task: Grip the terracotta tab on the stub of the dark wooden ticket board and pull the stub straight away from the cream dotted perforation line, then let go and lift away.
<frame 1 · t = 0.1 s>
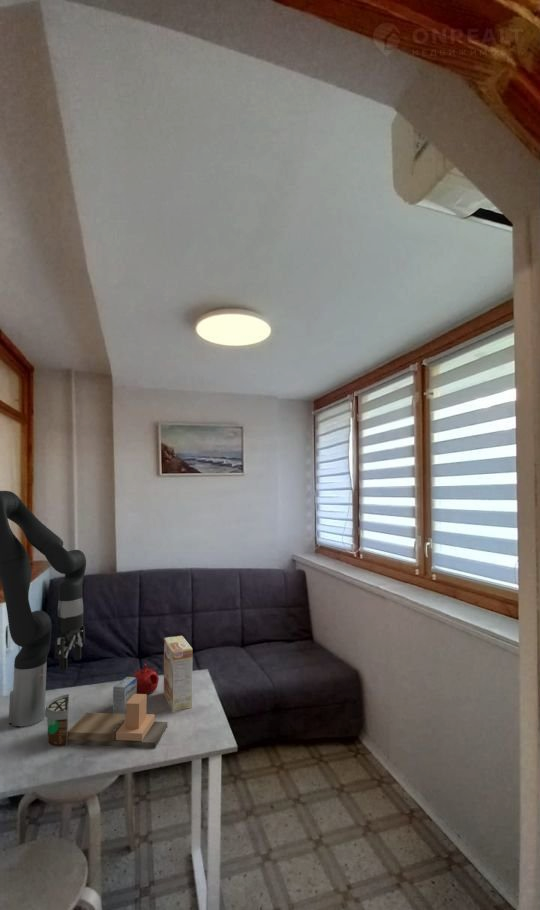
hand: (70, 664, 137), 17 cm above the table, tool pointing down, fingers open, 8 cm apart
medicine box: (124, 709, 144), on the table
food container: (55, 740, 126), on the table
coffeecake box: (177, 701, 149), on the table
ticket board: (119, 735, 127), on the table
stub: (136, 714, 128), point 6 cm above the table, slide at 0.0 cm
pomegranate: (144, 691, 156), on the table
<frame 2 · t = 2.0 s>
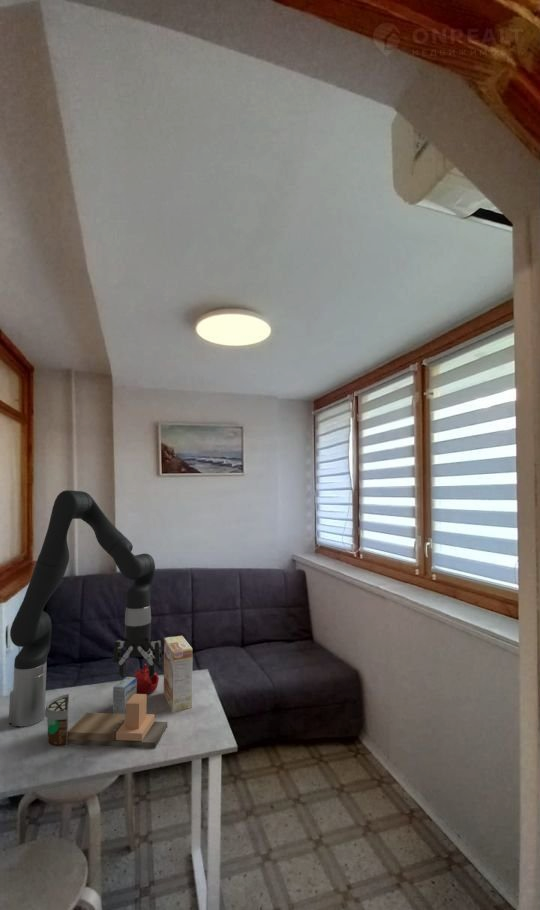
hand: (137, 676, 129), 17 cm above the table, tool pointing down, fingers open, 8 cm apart
nothing on the table moved.
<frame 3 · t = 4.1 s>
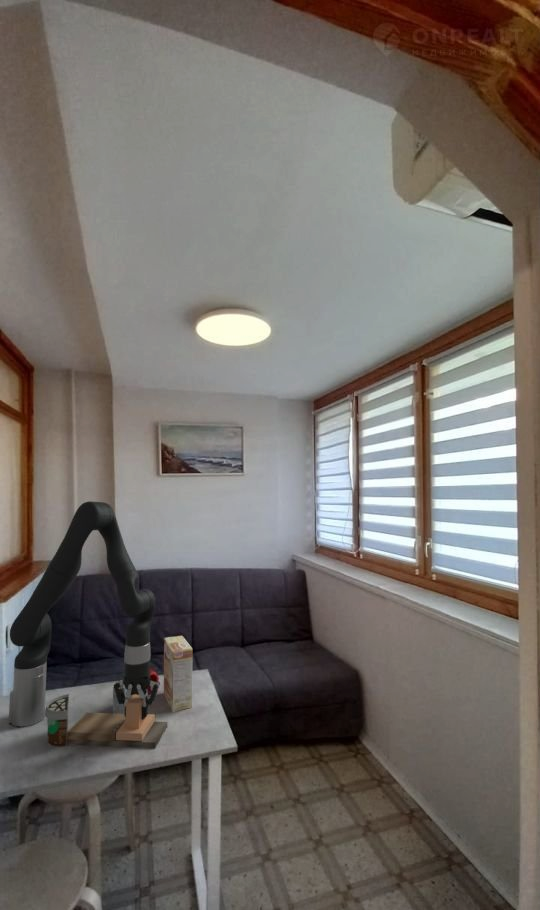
hand: (136, 717, 128), 5 cm above the table, tool pointing down, fingers closed on stub, 4 cm apart
stub: (136, 714, 128), point 6 cm above the table, slide at 0.0 cm, touching gripper
everything else where it was.
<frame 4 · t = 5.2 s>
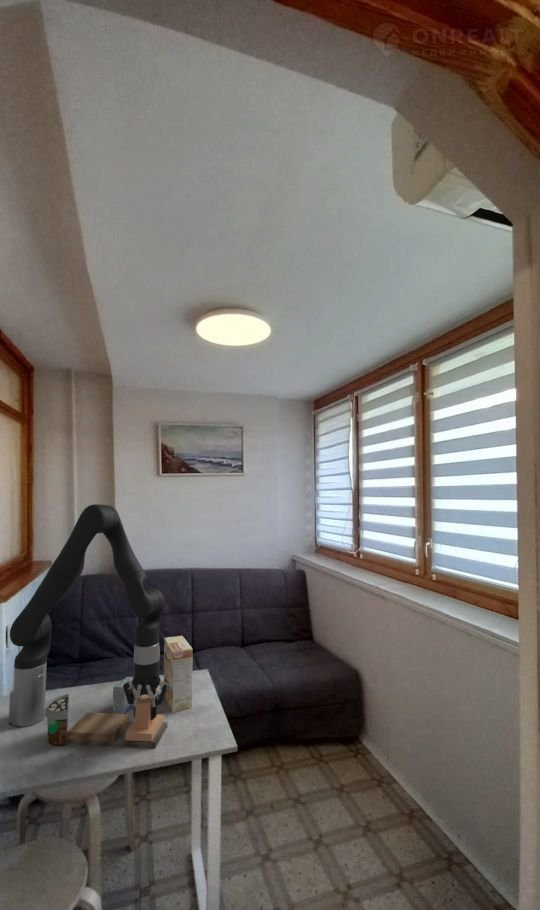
hand: (145, 718, 127), 5 cm above the table, tool pointing down, fingers closed on stub, 4 cm apart
stub: (145, 714, 127), point 6 cm above the table, slide at 2.9 cm, touching gripper
everything else where it was.
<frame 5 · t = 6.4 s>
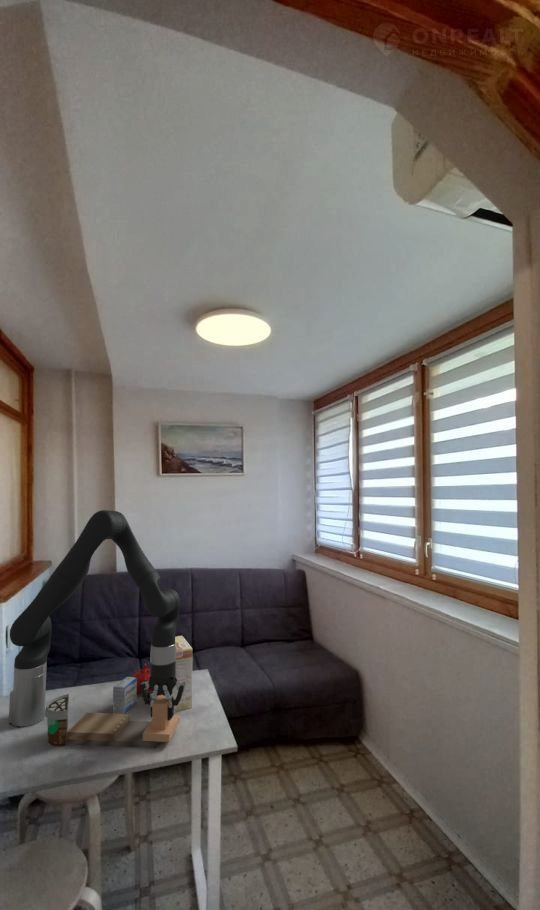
hand: (162, 718, 127), 5 cm above the table, tool pointing down, fingers closed on stub, 4 cm apart
stub: (162, 715, 127), point 6 cm above the table, slide at 7.9 cm, touching gripper
everything else where it was.
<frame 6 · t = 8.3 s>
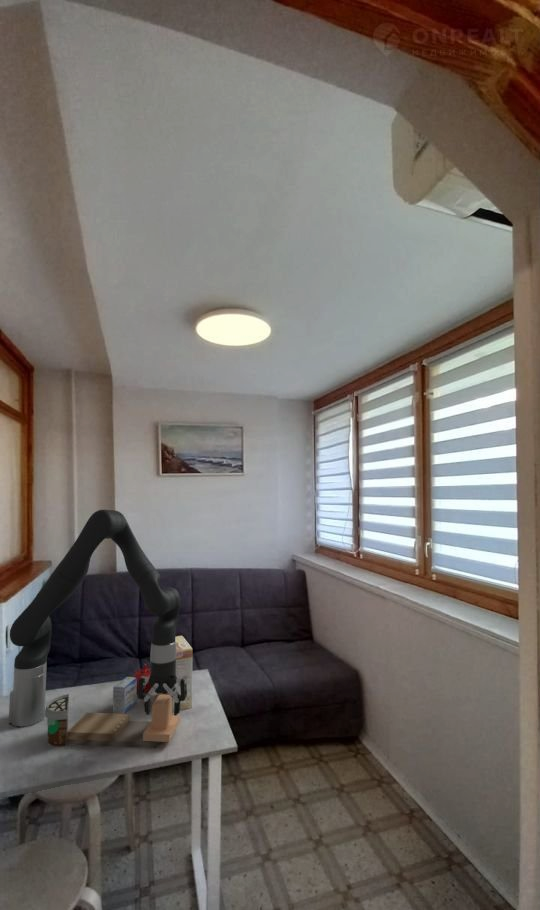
hand: (162, 713, 127), 7 cm above the table, tool pointing down, fingers open, 8 cm apart
stub: (162, 715, 127), point 6 cm above the table, slide at 8.0 cm
everything else where it was.
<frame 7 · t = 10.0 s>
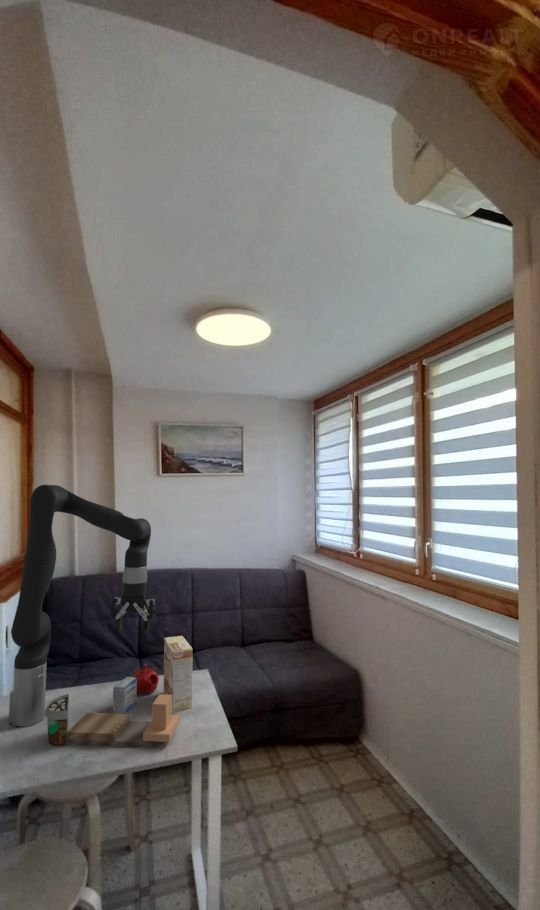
hand: (132, 631, 138), 28 cm above the table, tool pointing down, fingers open, 8 cm apart
nothing on the table moved.
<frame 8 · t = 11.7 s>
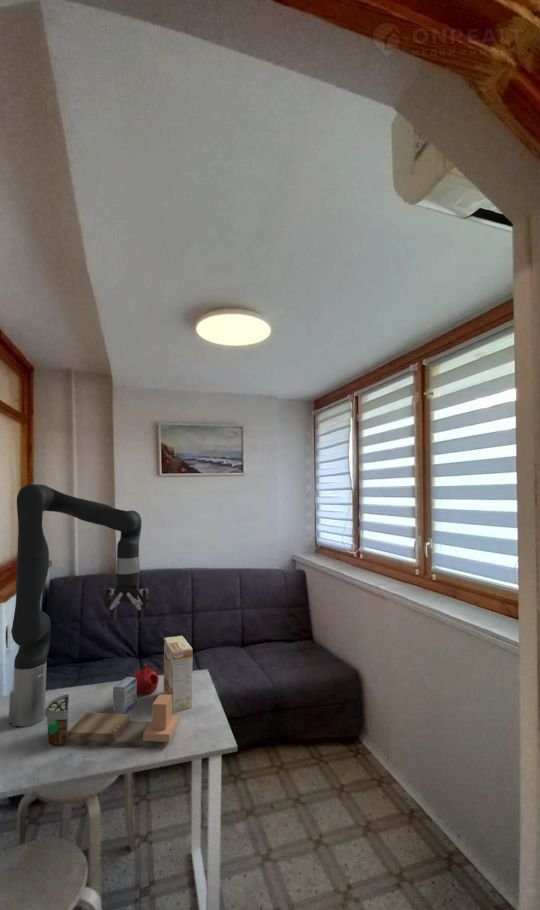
hand: (126, 620, 141), 30 cm above the table, tool pointing down, fingers open, 8 cm apart
nothing on the table moved.
at the end: stub slide at 8.0 cm; the gripper is holding nothing; medicine box moved 0.3 cm from its start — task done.
